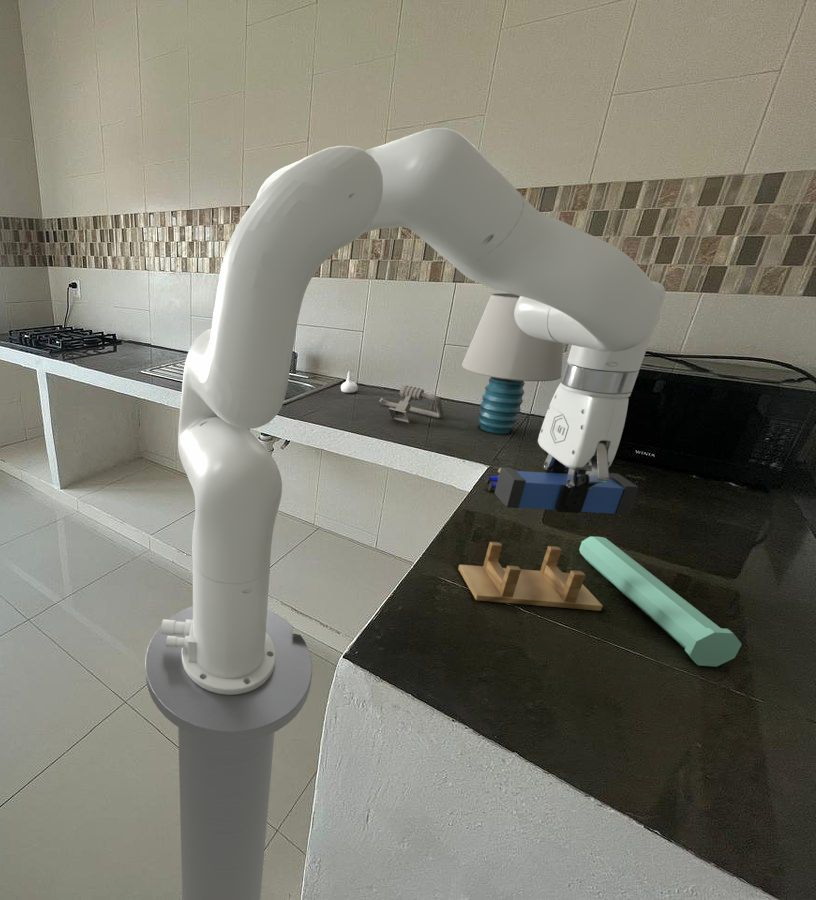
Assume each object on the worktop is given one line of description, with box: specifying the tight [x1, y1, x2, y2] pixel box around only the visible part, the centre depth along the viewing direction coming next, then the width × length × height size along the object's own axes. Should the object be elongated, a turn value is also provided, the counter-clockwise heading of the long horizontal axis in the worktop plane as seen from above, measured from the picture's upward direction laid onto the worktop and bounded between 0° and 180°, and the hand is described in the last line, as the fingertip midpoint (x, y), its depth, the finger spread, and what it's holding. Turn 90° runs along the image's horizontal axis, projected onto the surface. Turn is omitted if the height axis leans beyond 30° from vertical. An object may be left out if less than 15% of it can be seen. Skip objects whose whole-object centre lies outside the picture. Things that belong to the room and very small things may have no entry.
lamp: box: [461, 292, 564, 435], centre depth 140 cm, size 25×25×39 cm
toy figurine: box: [484, 467, 501, 492], centre depth 108 cm, size 8×4×12 cm
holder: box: [457, 541, 603, 612], centre depth 76 cm, size 18×8×6 cm, turn 83°
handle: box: [494, 466, 639, 516], centre depth 69 cm, size 16×4×4 cm, turn 83°
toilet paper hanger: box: [378, 385, 445, 423], centre depth 158 cm, size 22×11×14 cm
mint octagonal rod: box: [579, 535, 743, 668], centre depth 73 cm, size 6×6×25 cm
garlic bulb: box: [340, 370, 358, 394], centre depth 184 cm, size 6×6×8 cm
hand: (558, 502), depth 70 cm, fingers closed on handle, 4 cm apart
